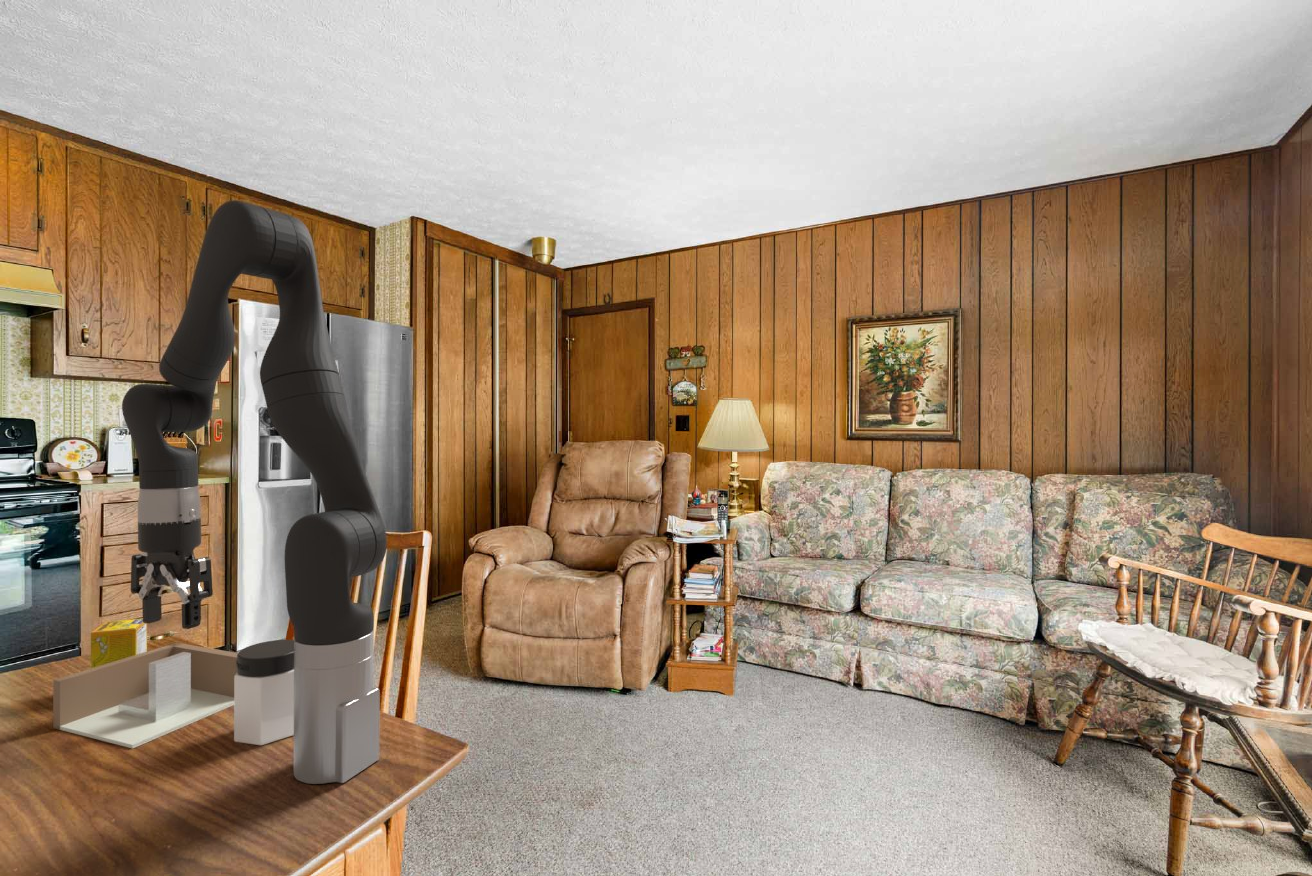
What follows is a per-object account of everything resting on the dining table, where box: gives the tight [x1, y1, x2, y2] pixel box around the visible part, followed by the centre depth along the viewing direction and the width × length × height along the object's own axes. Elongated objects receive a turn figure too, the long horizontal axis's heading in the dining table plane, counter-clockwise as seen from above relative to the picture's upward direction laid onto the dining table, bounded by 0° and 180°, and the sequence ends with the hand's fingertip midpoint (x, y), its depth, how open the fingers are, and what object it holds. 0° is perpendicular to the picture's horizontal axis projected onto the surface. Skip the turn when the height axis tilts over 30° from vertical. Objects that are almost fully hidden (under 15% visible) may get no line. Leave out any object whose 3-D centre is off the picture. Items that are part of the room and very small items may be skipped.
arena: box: [52, 642, 239, 749], centre depth 95 cm, size 17×17×7 cm
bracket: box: [119, 652, 191, 722], centre depth 95 cm, size 8×5×8 cm, turn 72°
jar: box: [233, 639, 294, 746], centre depth 90 cm, size 9×8×12 cm
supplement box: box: [90, 617, 148, 669], centre depth 103 cm, size 6×6×11 cm
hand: (171, 624), depth 94 cm, fingers open, 8 cm apart
